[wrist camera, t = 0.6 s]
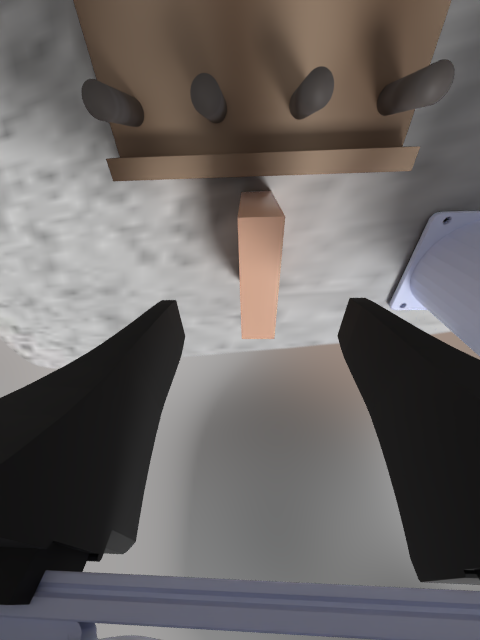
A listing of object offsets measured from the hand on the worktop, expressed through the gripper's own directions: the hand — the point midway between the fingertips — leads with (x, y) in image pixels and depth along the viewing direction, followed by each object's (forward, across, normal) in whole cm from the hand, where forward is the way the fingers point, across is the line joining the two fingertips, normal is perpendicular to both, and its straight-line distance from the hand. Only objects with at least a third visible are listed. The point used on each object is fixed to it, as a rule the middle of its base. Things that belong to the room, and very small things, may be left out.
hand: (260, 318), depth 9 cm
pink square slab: (+9, 0, 0) cm, 9 cm away
